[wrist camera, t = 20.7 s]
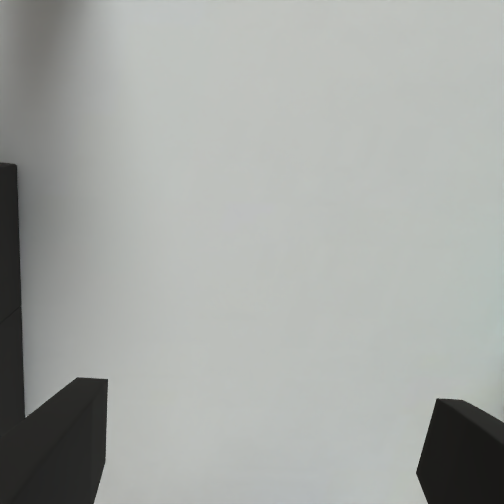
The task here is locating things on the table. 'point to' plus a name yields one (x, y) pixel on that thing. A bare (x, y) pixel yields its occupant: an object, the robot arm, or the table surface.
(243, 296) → the table surface
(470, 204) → the table surface
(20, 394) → the black u-shaped block
